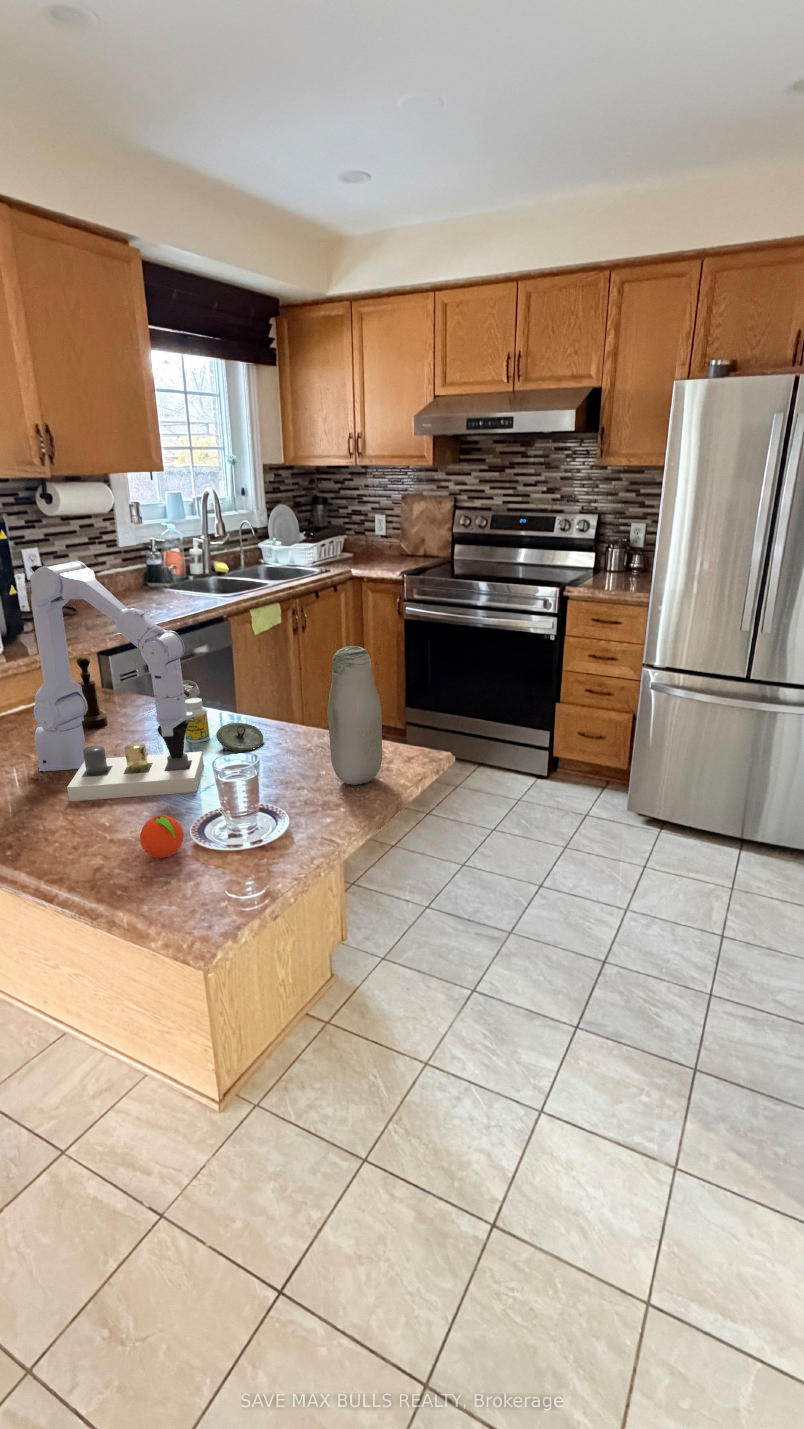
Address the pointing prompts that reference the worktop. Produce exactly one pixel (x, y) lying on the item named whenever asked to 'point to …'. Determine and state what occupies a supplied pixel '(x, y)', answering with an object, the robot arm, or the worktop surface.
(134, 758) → the knob middle
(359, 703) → the grey bottle
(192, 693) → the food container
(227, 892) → the worktop surface
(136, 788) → the housing
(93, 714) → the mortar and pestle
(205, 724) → the supplement bottle
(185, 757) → the knob
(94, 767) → the knob
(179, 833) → the clementine
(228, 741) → the lid
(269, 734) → the worktop surface
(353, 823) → the worktop surface
